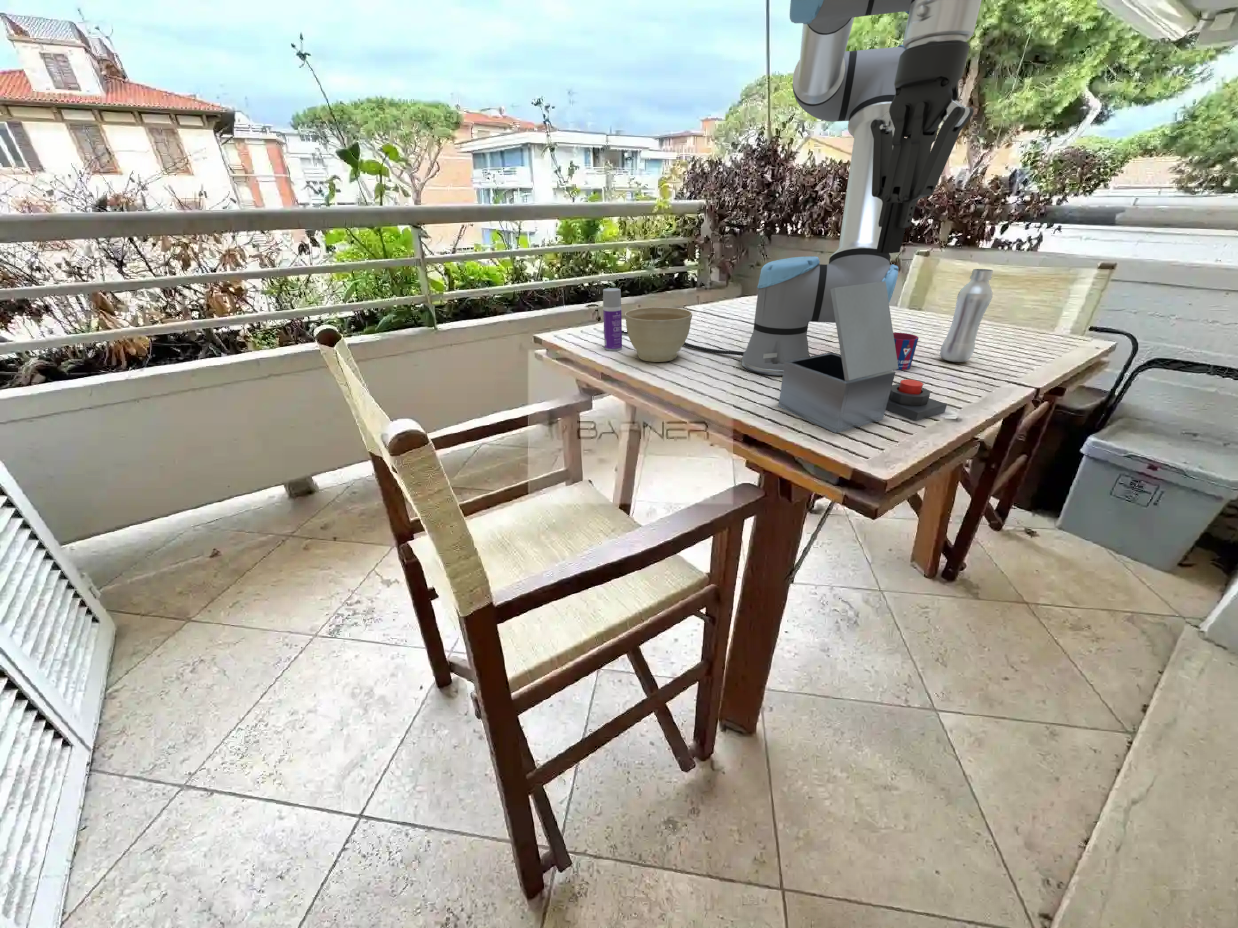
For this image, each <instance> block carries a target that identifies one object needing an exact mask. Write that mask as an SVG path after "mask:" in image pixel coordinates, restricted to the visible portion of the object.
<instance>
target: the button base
mask: <svg viewBox="0 0 1238 928" xmlns="http://www.w3.org/2000/svg"><path fill="white" fill-rule="evenodd" d="M899 385H900V383H896V384H892V387H891V391H890V395H889V399H888V402H887V406H886V410H885V411H888V412H891V413H894V414H896V415H898V416H901V417H904V418H906V419H908V420H911V421H913V422H917V421H921V420H925V419H928V418H931V417H934V416H938V415H940V414H944V413H946V409H947V406H948V404H947V403H945V402H942V401H939V400H935V399H933V398H930V395H931V390H929V389H928V388H926V387H922V390H921V393H920V394H908V393H903V392H900V391H898V389H899Z"/></svg>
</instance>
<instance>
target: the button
mask: <svg viewBox="0 0 1238 928" xmlns="http://www.w3.org/2000/svg"><path fill="white" fill-rule="evenodd" d="M899 384H900V385H899V389H898V391H900V392H903V393H908V394H920V393H921V390H922V387H923V386H924V383H923V382H922V381H919V380H915V379H908V378H907V379H901V380H900V381H899ZM923 388H924V387H923Z"/></svg>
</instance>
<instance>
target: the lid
mask: <svg viewBox="0 0 1238 928" xmlns="http://www.w3.org/2000/svg"><path fill="white" fill-rule="evenodd" d="M831 296H832V303H833V309H834V315H835V321H836V323H835V327H836V333H837V339H838V346H839V353H840V355H841V359H842V365H843V371H844V378H845V381H849V380H854V379H858V378H862V377H866V376H871V375H875V374H879V373H883V372H888V371H895V370H896V369H898V362H897V355H896V348H895V341H894V335H893V333H894V328H893V322H892V316H891V308H890V302H889V301H888V294H887V287H886V281H884V282H876V283H869V284H861V285H853V286H846V287H838V288H833V289H831ZM896 371H897V370H896Z"/></svg>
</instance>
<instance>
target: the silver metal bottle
mask: <svg viewBox="0 0 1238 928" xmlns="http://www.w3.org/2000/svg"><path fill="white" fill-rule="evenodd" d="M993 272H994V270H993V269H989V268H972V271H971V275H970V276H969V279H970V281H969V282H967V283H966V285H964V286H963V287H962V288H961V289H960V290H959V292H958V293H957V297H956V301H955V302H956V303H955V309H954V314H953V317H952V321H951V325H950V326H949V330H948V332H947V334H946V337H945V339H943V343H942V344H941V347H940V351H939V355H940V358H941V359H942V360H945V361H948V362H952V363H965V362H968V361H969V360H970V359H971V358H972V356H973V355H974V353H975V348H976V347H975V346H976V340H977V335H978V331H979V328H980V325H981V322H982V320H983V318H984V315H985V314H986V311H987V310H988V307H989V305H990V303H991V301H992V299H993V290H992V287H991V285H990V283H989V281H991V280H992V275H993Z"/></svg>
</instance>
